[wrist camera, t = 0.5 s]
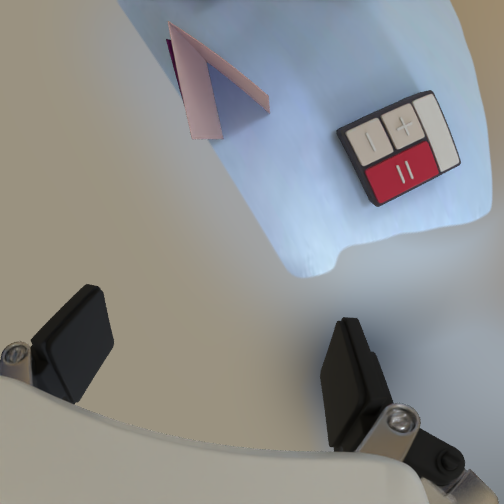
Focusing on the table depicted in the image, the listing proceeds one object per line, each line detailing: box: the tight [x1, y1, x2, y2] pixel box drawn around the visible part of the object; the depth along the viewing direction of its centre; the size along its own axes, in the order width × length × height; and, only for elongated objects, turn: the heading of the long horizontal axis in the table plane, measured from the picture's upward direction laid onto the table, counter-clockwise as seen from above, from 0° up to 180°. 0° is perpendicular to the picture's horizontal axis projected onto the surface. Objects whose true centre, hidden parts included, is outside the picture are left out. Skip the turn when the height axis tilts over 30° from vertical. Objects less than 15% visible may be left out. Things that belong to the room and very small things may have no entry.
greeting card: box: [166, 21, 270, 139], centre depth 26 cm, size 11×7×15 cm, turn 12°
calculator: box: [337, 90, 461, 207], centre depth 31 cm, size 11×4×15 cm
